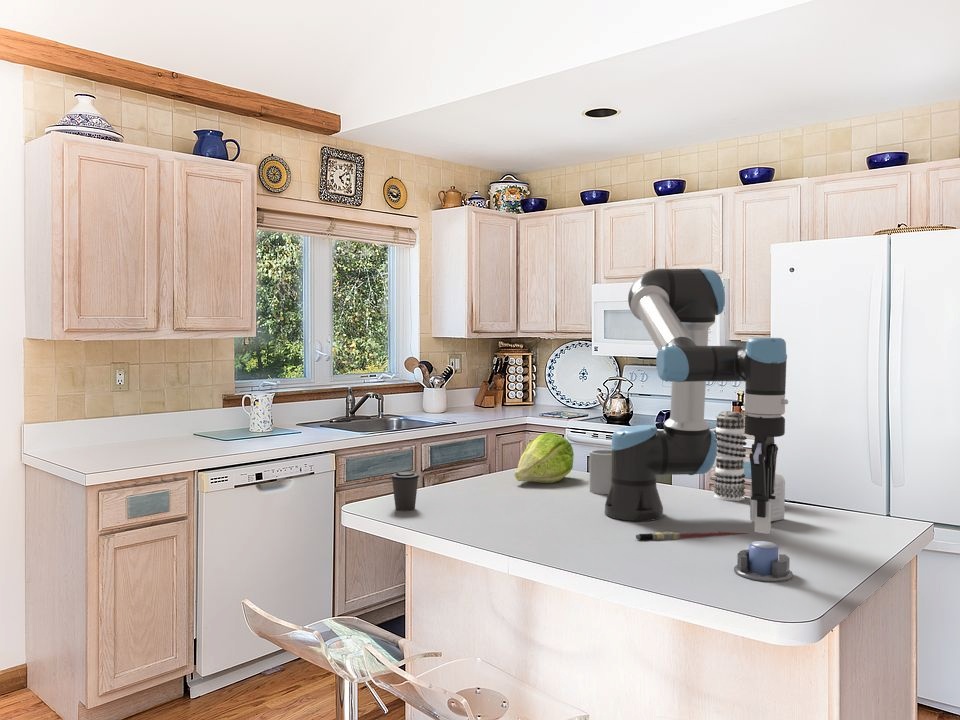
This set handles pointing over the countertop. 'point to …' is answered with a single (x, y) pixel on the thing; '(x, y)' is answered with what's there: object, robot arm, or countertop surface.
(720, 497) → the decorative candle
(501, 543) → the countertop surface
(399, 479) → the coffee cup
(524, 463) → the lettuce
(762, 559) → the blue dome-topped cylinder
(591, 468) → the cup
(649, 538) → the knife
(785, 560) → the disc
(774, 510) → the photo printer
